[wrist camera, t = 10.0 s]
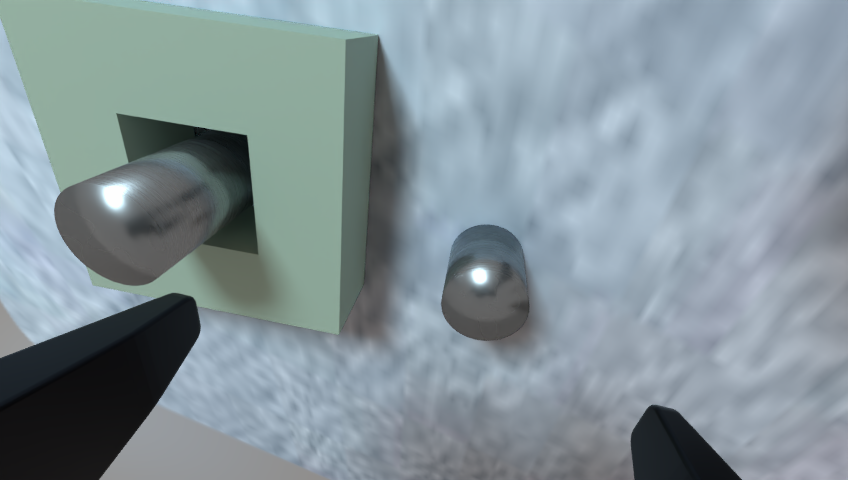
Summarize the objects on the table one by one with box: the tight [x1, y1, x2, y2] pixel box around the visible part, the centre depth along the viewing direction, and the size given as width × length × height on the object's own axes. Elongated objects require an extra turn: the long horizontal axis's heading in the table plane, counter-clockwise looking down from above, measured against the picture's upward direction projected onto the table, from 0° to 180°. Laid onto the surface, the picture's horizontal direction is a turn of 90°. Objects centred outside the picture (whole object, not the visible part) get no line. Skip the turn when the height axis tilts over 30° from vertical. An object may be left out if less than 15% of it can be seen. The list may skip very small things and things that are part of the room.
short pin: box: [441, 225, 529, 341], centre depth 18 cm, size 4×4×4 cm
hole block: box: [0, 0, 378, 335], centre depth 18 cm, size 12×12×4 cm
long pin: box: [54, 130, 254, 286], centre depth 16 cm, size 4×4×8 cm
